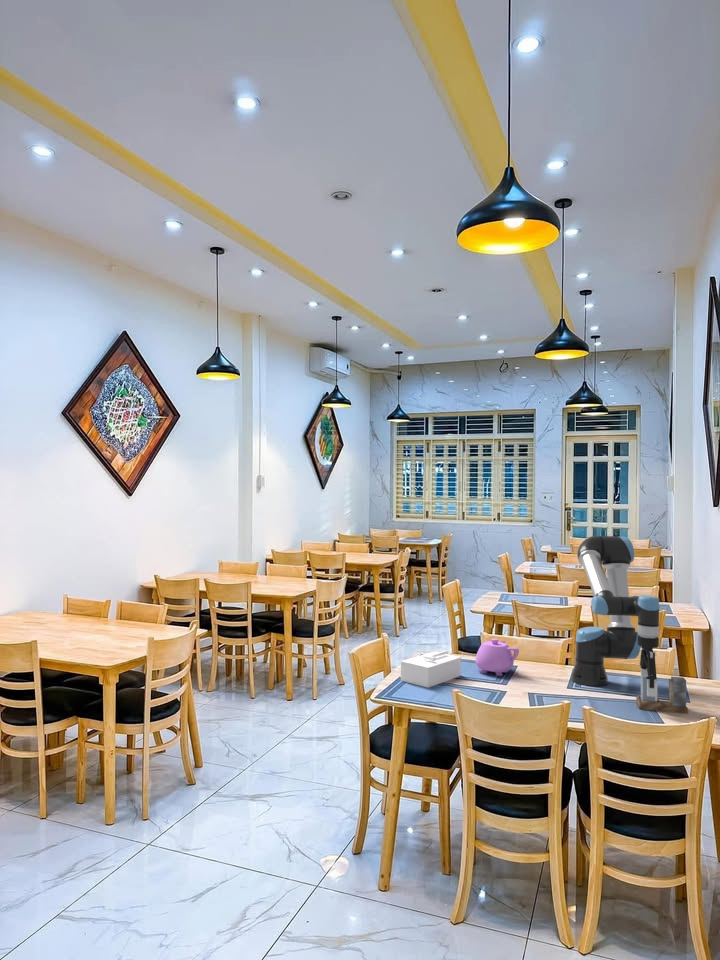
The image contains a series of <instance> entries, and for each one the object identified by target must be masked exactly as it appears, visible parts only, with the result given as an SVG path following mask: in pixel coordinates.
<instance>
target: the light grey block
mask: <svg viewBox="0 0 720 960" xmlns="http://www.w3.org/2000/svg"><path fill="white" fill-rule="evenodd" d="M651 676H653V675H651ZM646 677H648V675H647V674H641V673H640V696H641V701H648V702H655V701H656V702H657V698H658V678H657V679H655V697H652V696H647V679H646Z"/></svg>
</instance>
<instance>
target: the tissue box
mask: <svg viewBox="0 0 720 960" xmlns="http://www.w3.org/2000/svg"><path fill="white" fill-rule="evenodd" d="M461 672H462V657H461V656H457V655H452V654H449V651H447V650H443V651H441V652H439V651H431V652H429V653H424V654H420V655H417V656H415V657H411V658H408V659H404V660H401V661H400V681H401V682H405V683H409V684H413V685H417V686H420V687H424V688H431V687H433V686H437V685H440V684H443V683H445V682H447V681H450V680H454V679H456V678H458V677H461V675H462V673H461Z"/></svg>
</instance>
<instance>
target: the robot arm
mask: <svg viewBox="0 0 720 960" xmlns="http://www.w3.org/2000/svg"><path fill="white" fill-rule="evenodd" d="M634 548H635V547H634V544H633V543H632V541H631V540H630V539H629V538H628V537H626V536H619V535H617V536H613V535H612V536H611V535H606V536H605V535H603V536H602V535H592V536H589V537H587V538H585V539H584V540H583V541H582V542H581V544H580V545H579V547H578V549H577V554H576V555H577V560H578V562H579V564H580V566H582V567H583V570H584V572H585V575H586V578H587V581H588V583H589V587H590V588H591V592H592V594H593V596H592V598H591V602H590V605H591V611H592V613H593V614H594V615H600V616H601V615H602V616H609V624H608V625H607V626H606V630H605V628H603V627H602V626H601V627H600V626H585V627H581V628H578V629H577V630H576V636H575V663H574V666H573V670H572V671H571V680H570V681H572V682H574V683H576V684H579V685H584V686H587V687H588V686H591V687H603V686H606V685H608V683H609V678H608V673H607V672H606V667H605V665H604V664H605V662H604V661H605V659H615V660H617V659H619V660H634V659H636V658H638V657H639V655H640V658H639V659H640V661H639V666H640V675H641V674H647V675H648V677H646V679H647V696H652V697H655V679H657V680H658V677H657V665H656V652H654V649H657V648H659V646H660V638H659V636H660V631H661V628H660V607H661V606H660V599H659V597H657V596H653V595H649V594H647V595H646V594H645V595H632V596H630V594H629V579H628V569H629V568H630V567H631V563H633V562H634V560H635V549H634ZM605 570H606V573H605ZM631 617H637V631H636V627H635V626H634V625H633V624H632V621H631V619H632V618H631ZM651 675H653V676H651Z"/></svg>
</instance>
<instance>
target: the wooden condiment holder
mask: <svg viewBox="0 0 720 960" xmlns="http://www.w3.org/2000/svg"><path fill="white" fill-rule="evenodd" d="M635 702H636V705H638V706H637V708H638V709H639V710H644V709H645V710H647V711H656V712H667V713H677V714H688V713H689V711H688V710H689V709H688V707H687V680H686V678H685V677H682V676H671V677H670V678H669V679H668V700H660V699H659V698H658V697H657V702H656V701H655V702H648V701H641V695H636V701H635Z"/></svg>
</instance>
